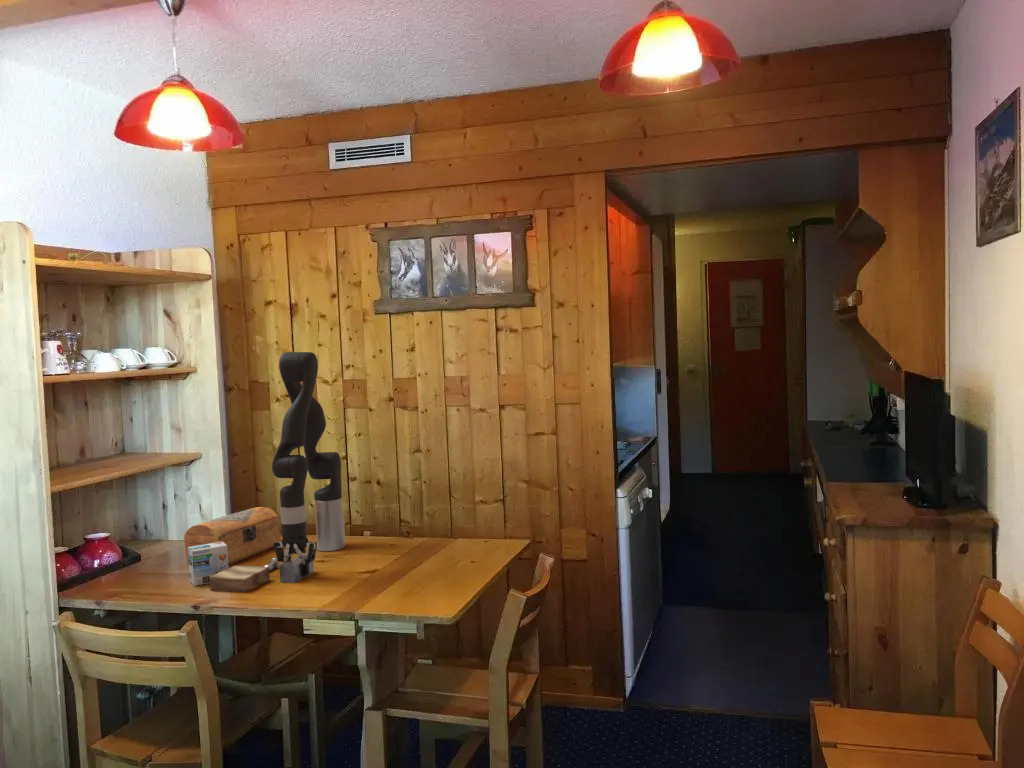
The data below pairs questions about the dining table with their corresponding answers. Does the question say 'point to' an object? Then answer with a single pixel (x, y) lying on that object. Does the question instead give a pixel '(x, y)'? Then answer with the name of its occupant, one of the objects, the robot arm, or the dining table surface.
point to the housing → (293, 570)
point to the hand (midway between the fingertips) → (297, 575)
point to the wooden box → (238, 533)
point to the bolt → (273, 564)
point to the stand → (239, 578)
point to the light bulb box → (207, 561)
